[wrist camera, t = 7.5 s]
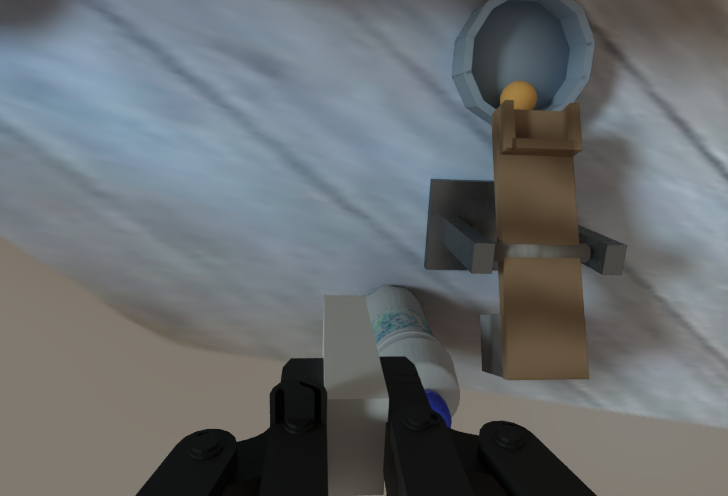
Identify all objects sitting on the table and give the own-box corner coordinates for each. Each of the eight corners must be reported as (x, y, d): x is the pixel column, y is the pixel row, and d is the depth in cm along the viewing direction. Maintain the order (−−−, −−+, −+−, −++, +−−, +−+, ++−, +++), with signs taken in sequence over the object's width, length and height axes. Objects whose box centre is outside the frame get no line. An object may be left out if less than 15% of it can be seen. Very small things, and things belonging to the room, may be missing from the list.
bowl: (562, 127, 46) (581, 128, 42) (448, 123, 45) (458, 123, 41) (581, -2, 43) (603, -12, 39) (459, -10, 42) (471, -21, 38)
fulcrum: (554, 267, 50) (624, 313, 38) (424, 266, 48) (456, 313, 37) (567, 182, 47) (646, 203, 36) (430, 179, 46) (467, 199, 34)
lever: (556, 370, 43) (611, 381, 35) (471, 370, 42) (507, 383, 34) (542, 141, 46) (589, 103, 38) (463, 138, 45) (494, 99, 37)
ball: (492, 119, 43) (492, 85, 43) (519, 124, 44) (518, 91, 45) (517, 107, 40) (517, 71, 40) (545, 113, 42) (544, 78, 42)
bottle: (396, 347, 51) (441, 489, 31) (344, 317, 49) (358, 446, 30) (432, 298, 49) (502, 414, 30) (380, 266, 48) (418, 366, 29)
